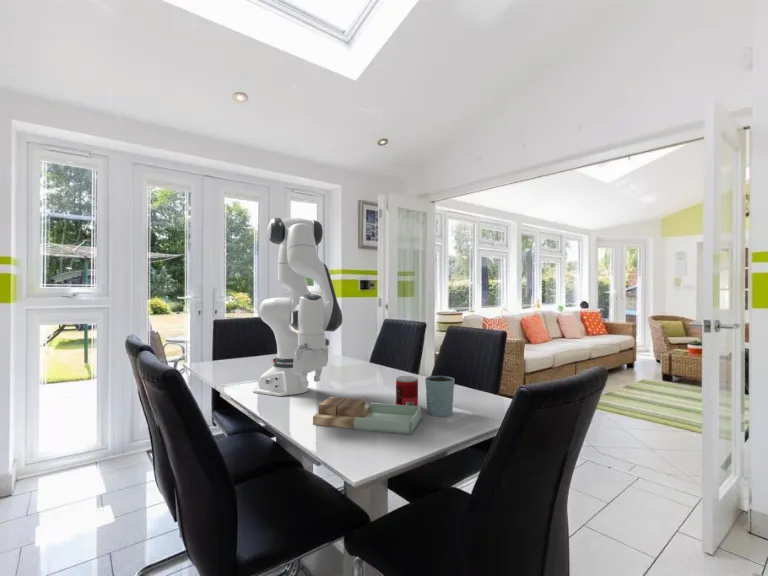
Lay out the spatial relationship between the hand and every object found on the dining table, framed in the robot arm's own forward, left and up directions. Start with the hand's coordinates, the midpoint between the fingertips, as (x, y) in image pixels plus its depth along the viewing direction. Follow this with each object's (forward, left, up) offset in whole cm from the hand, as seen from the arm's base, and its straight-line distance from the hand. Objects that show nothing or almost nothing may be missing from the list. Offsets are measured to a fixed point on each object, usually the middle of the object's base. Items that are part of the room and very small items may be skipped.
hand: (311, 383), depth 141 cm
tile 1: (+8, +1, -8) cm, 11 cm away
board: (+11, +1, -11) cm, 16 cm away
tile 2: (+14, +1, -8) cm, 16 cm away
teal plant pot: (+41, +16, -11) cm, 45 cm away
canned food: (+29, +18, -11) cm, 36 cm away
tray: (+27, +1, -11) cm, 29 cm away
